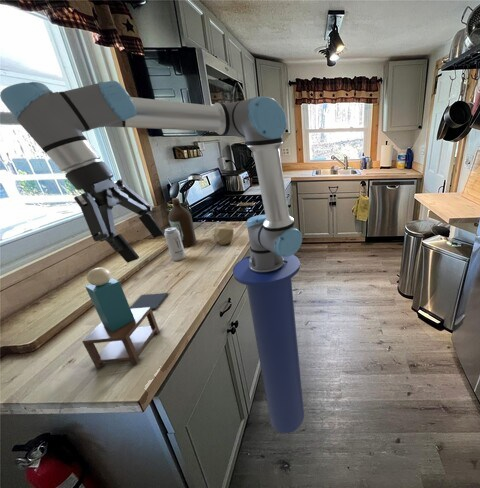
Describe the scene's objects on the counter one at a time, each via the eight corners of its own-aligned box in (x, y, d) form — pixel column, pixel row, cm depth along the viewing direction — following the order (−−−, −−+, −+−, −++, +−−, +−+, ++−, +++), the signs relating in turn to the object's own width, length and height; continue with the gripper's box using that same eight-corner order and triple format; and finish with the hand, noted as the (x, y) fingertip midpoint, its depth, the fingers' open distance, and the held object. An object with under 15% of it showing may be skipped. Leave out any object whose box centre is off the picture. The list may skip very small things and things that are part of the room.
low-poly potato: (227, 249, 133) (243, 234, 137) (211, 234, 128) (228, 218, 133) (219, 248, 145) (234, 234, 149) (204, 234, 140) (220, 220, 144)
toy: (125, 313, 71) (103, 261, 65) (135, 319, 69) (113, 266, 63) (103, 325, 67) (77, 271, 61) (112, 332, 65) (87, 276, 58)
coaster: (167, 294, 96) (167, 292, 96) (155, 309, 88) (155, 308, 87) (142, 296, 95) (141, 295, 95) (127, 311, 87) (127, 310, 87)
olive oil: (187, 239, 146) (176, 195, 136) (202, 241, 143) (191, 196, 133) (171, 246, 137) (158, 200, 127) (186, 249, 134) (173, 201, 124)
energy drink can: (180, 261, 121) (171, 231, 115) (169, 260, 122) (159, 231, 116) (188, 256, 126) (181, 227, 120) (178, 255, 127) (169, 226, 121)
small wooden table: (159, 331, 78) (150, 306, 74) (137, 363, 67) (125, 337, 63) (124, 334, 77) (113, 310, 73) (96, 368, 66) (81, 341, 62)
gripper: (103, 163, 67) (156, 232, 77) (13, 187, 45) (103, 279, 54) (130, 152, 67) (179, 223, 76) (52, 171, 44) (135, 267, 54)
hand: (147, 246), depth 65 cm, fingers open, 13 cm apart
